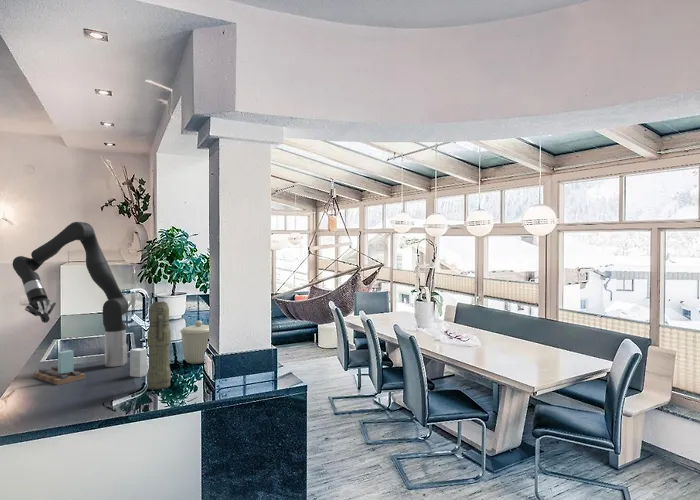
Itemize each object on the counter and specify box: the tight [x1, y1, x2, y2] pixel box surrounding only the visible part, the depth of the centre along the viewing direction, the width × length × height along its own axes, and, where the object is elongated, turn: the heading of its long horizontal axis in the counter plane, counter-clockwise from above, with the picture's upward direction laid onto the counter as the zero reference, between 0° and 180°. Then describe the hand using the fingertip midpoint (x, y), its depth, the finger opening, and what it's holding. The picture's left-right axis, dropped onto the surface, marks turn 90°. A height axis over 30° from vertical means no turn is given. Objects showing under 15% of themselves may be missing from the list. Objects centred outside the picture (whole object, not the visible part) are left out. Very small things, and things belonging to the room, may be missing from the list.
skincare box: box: [129, 347, 148, 378], centre depth 192 cm, size 6×4×12 cm
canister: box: [179, 319, 210, 365], centre depth 217 cm, size 18×18×21 cm
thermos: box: [146, 301, 172, 390], centre depth 177 cm, size 9×12×35 cm
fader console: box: [33, 365, 86, 386], centre depth 189 cm, size 22×11×3 cm, turn 59°
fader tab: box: [57, 349, 75, 375], centre depth 186 cm, size 4×5×10 cm
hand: (46, 321), depth 201 cm, fingers closed
